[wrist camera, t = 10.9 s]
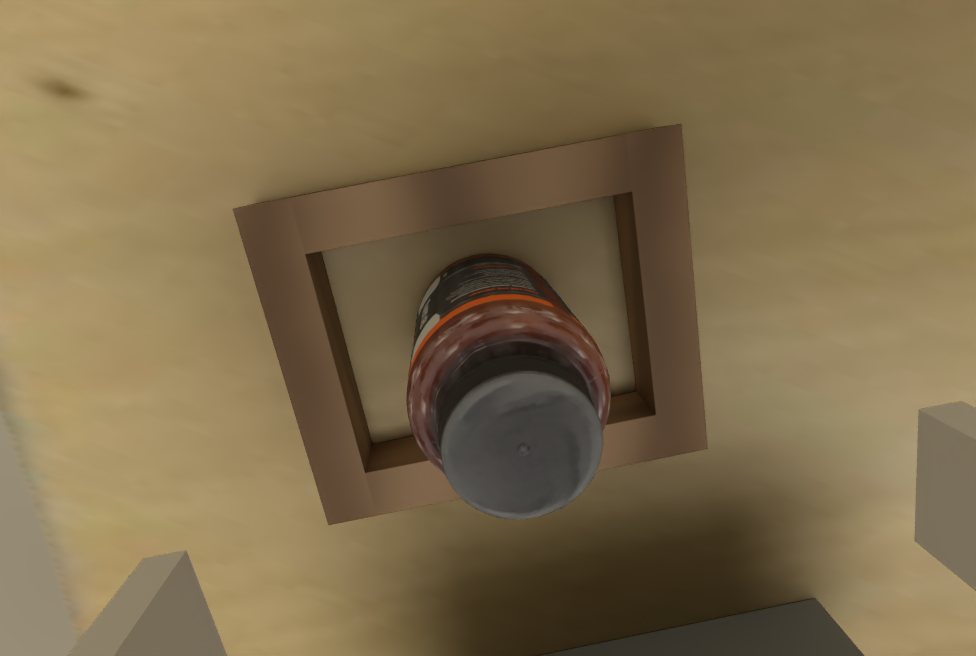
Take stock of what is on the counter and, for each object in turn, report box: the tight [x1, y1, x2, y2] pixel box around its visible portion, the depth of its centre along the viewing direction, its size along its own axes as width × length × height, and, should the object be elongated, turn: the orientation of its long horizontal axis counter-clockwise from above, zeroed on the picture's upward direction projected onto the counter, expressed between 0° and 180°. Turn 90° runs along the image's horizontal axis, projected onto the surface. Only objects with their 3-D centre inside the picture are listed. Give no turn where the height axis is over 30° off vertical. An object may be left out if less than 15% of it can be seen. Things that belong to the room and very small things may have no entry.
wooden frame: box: [233, 124, 708, 525], centre depth 23 cm, size 16×13×2 cm
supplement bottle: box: [407, 254, 611, 520], centre depth 19 cm, size 6×6×11 cm
